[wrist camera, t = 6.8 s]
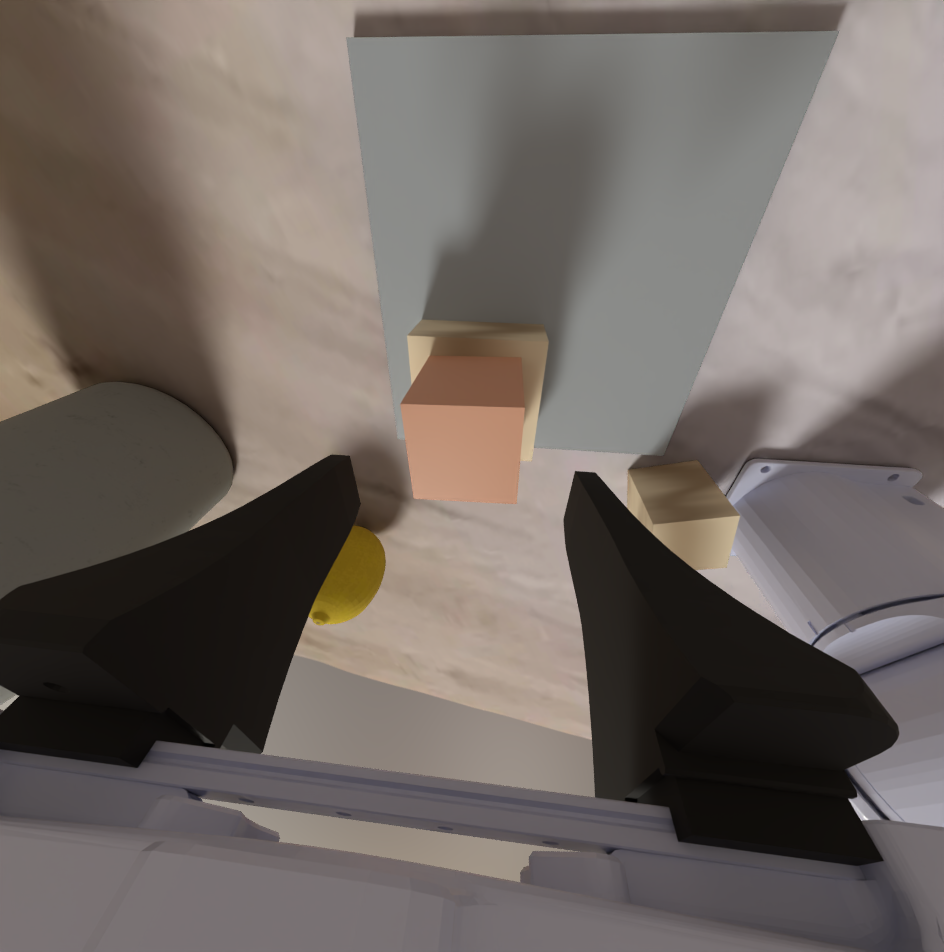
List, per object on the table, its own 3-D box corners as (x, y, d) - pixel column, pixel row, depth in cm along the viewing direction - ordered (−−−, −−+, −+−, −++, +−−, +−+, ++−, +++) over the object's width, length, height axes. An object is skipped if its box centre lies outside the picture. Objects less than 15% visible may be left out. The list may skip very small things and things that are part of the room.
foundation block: (543, 324, 17) (548, 341, 14) (529, 433, 20) (531, 461, 18) (421, 319, 17) (407, 335, 15) (428, 426, 21) (417, 453, 18)
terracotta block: (521, 357, 15) (524, 407, 11) (515, 438, 17) (516, 504, 13) (429, 355, 15) (400, 403, 11) (436, 435, 18) (413, 498, 14)
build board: (825, 38, 11) (839, 30, 11) (660, 450, 21) (663, 455, 20) (352, 45, 12) (346, 37, 12) (400, 434, 22) (397, 439, 21)
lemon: (317, 504, 26) (255, 595, 20) (386, 502, 26) (344, 596, 19) (342, 553, 30) (296, 645, 23) (404, 552, 29) (373, 647, 22)
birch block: (697, 459, 21) (740, 515, 17) (689, 508, 23) (726, 567, 19) (627, 469, 22) (653, 524, 18) (626, 515, 24) (649, 573, 20)
